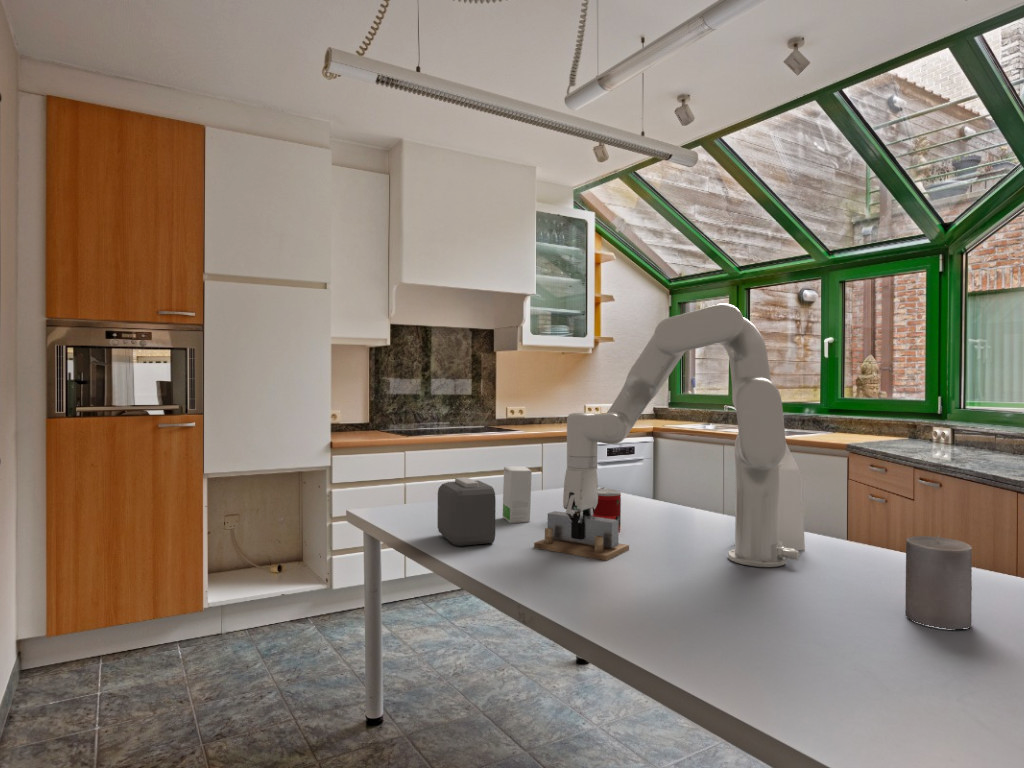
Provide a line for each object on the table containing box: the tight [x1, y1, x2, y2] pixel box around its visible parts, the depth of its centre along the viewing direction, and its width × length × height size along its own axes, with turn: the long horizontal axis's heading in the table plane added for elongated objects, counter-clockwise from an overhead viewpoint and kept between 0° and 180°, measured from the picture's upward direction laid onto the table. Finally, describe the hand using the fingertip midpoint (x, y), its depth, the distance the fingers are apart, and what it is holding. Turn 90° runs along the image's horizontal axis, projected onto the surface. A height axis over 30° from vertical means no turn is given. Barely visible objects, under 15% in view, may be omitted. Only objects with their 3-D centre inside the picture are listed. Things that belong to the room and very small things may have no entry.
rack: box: [533, 527, 630, 562], centre depth 161 cm, size 20×12×5 cm, turn 55°
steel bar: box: [547, 510, 620, 548], centre depth 161 cm, size 18×4×6 cm, turn 55°
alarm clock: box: [437, 476, 497, 547], centre depth 169 cm, size 16×11×16 cm
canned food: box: [593, 488, 622, 533], centre depth 180 cm, size 8×8×11 cm
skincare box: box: [502, 465, 532, 524], centre depth 194 cm, size 8×7×16 cm
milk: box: [779, 443, 806, 551], centre depth 167 cm, size 12×12×26 cm
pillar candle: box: [904, 534, 973, 629], centre depth 113 cm, size 10×10×15 cm
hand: (581, 536), depth 161 cm, fingers closed on steel bar, 3 cm apart
